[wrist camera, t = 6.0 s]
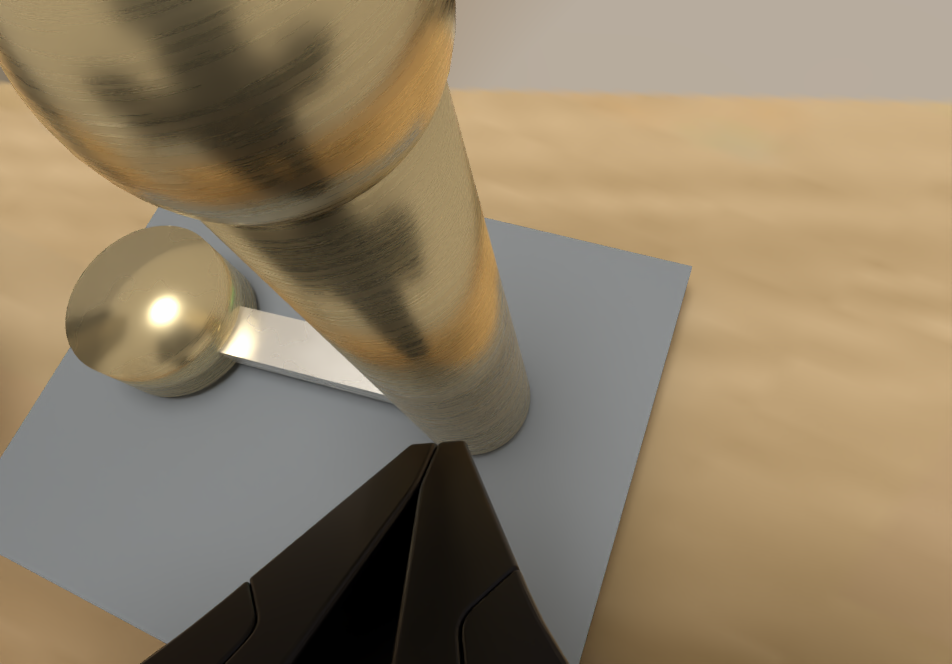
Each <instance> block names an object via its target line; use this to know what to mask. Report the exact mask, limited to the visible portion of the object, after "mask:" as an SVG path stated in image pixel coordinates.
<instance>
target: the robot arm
mask: <svg viewBox="0 0 952 664" xmlns="http://www.w3.org/2000/svg"><path fill="white" fill-rule="evenodd" d="M249 581H250V583H249V582H244V583H243V584H242V585H241V586H239V587H238V588H237V589H236V590H235V591H233V592H232V593H231V594H230V595H229V596H227V597H226V598H225V599H224V600H223V601H221V602H220V603H219V604H218V605H216V606H215V607H214V608H212V609H211V610H210V611H209V612H207V613H206V614H205V615H204V616H202V617H201V618H200V619H199V620H197V621H196V622H195V623H194V624H192V625H191V626H190V627H189V628H187V629H186V630H185V631H183V632H182V633H181V634H179V635H178V636H177V637H175V638H174V639H173V640H171V641H170V642H169V643H167V644H166V645H165V646H163V647H162V648H161V649H159V650H158V651H157V652H155V653H154V654H152V655H151V656H150V657H148V658H147V659H146V660H144V661H143V662H142V663H140V664H569V662H568V661H567V659H566V658H565V656H564V655H563V653H562V651H561V650H560V648H559V646H558V644H557V643H556V641H555V639H554V638H553V636H552V634H551V632H550V631H549V629H548V627H547V626H546V624H545V622H544V620H543V618H542V616H541V614H540V612H539V610H538V608H537V606H536V604H535V602H534V600H533V598H532V595H531V593H530V591H529V589H528V587H527V584H526V582H525V580H524V577H523V575H522V573H521V572H520V568H519V566H518V564H517V561H516V559H515V557H514V554H513V552H512V550H511V547H510V545H509V542H508V540H507V538H506V535H505V533H504V531H503V528H502V526H501V524H500V521H499V519H498V516H497V514H496V512H495V509H494V507H493V505H492V502H491V500H490V497H489V495H488V493H487V490H486V488H485V486H484V483H483V481H482V479H481V476H480V474H479V471H478V469H477V467H476V464H475V462H474V460H473V457H472V455H471V453H470V450H469V448H468V445H467V443H466V442H465V441H448V442H441V443H439V444H438V445H437V444H436V443H421V444H412V445H410V446H408V447H407V448H406V449H405V450H404V451H402V452H401V453H400V454H399V455H398V456H396V457H395V458H394V459H393V460H392V461H390V462H389V463H388V464H387V465H385V466H384V467H383V468H382V469H381V470H379V471H378V472H377V473H376V474H375V475H373V476H372V477H371V478H370V479H369V480H367V481H366V482H365V483H364V484H363V485H361V486H360V487H359V488H358V489H357V490H355V491H354V492H353V493H352V494H351V495H349V496H348V497H347V498H346V499H345V500H343V501H342V502H341V503H340V504H338V505H337V506H336V507H335V508H334V509H332V510H331V511H330V512H329V513H328V514H326V515H325V516H324V517H323V518H322V519H320V520H319V521H318V522H317V523H316V524H314V525H313V526H312V527H311V528H310V529H308V530H307V531H306V532H305V533H304V534H302V535H301V536H300V537H299V538H298V539H296V540H295V541H294V542H293V543H291V544H290V545H289V546H288V547H287V548H285V549H284V550H283V551H282V552H281V553H279V554H278V555H277V556H276V557H275V558H273V559H272V560H271V561H270V562H269V563H267V564H266V565H265V566H264V567H263V568H261V569H260V570H259V571H258V572H256V573H255V574H254V575H253V576H252V577H251V578H250V580H249Z"/></svg>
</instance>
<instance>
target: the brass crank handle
mask: <svg viewBox="0 0 952 664" xmlns="http://www.w3.org/2000/svg"><path fill="white" fill-rule="evenodd" d="M455 14H456V3H455V0H0V66H1V68H2V69H3V71H4V72H5V74H6V76H7V77H8V79H9V81H10V82H11V84H12V86H13V87H14V89H15V90H16V92H17V94H18V95H19V96H20V97H21V99H22V100H23V101H24V102H25V104H26V105H27V106H28V107H29V109H30V110H31V111H32V112H33V114H34V115H35V116H36V117H37V119H38V120H39V121H40V122H41V123H42V124H43V125H44V126H45V127H46V128H47V129H48V130H49V131H50V132H51V133H52V134H53V135H54V136H55V137H56V138H57V139H58V140H59V141H60V142H61V143H62V144H63V145H64V146H65V147H66V148H67V149H68V150H69V151H70V152H71V153H72V154H73V155H74V156H75V157H77V158H78V159H79V160H81V161H82V162H83V163H85V164H86V165H87V166H89V167H90V168H92V169H93V170H94V171H96V172H97V173H98V174H100V175H101V176H103V177H104V178H106V179H107V180H109V181H110V182H111V183H113V184H114V185H116V186H117V187H119V188H121V189H123V190H125V191H127V192H129V193H130V194H132V195H134V196H136V197H138V198H140V199H142V200H144V201H146V202H149V203H151V204H153V205H155V206H158V207H160V208H163V209H165V210H168V211H171V212H174V213H177V214H179V215H183V216H186V217H190V218H194V219H197V220H200V221H201V222H202V223H203V224H204V225H205V226H206V227H207V228H209V229H210V230H211V231H212V232H213V233H214V234H215V235H216V236H217V237H218V238H219V239H220V240H221V241H222V242H223V243H224V244H225V245H226V246H228V247H229V248H230V249H231V250H232V251H233V252H234V253H235V254H236V255H237V256H238V257H239V258H240V259H241V260H242V261H243V262H244V263H245V264H247V265H248V266H249V267H250V268H251V269H252V270H253V271H254V272H255V273H256V274H257V275H258V276H259V277H260V278H261V279H262V280H263V281H264V282H266V283H267V284H268V285H269V286H270V287H271V288H272V289H273V290H274V291H275V292H276V293H277V294H278V295H279V296H280V297H281V298H282V299H283V300H285V301H286V302H287V303H288V304H289V305H290V306H291V307H292V308H293V309H294V310H295V311H296V312H297V313H298V314H299V315H300V316H301V317H302V318H304V319H305V320H306V321H302V320H298V319H294V318H290V317H285V316H281V315H277V314H273V313H268V312H264V311H260V310H257V306H256V299H255V295H254V292H253V289H252V287H251V285H250V283H249V282H248V280H247V279H246V278H245V276H243V275H242V274H241V273H240V272H239V271H238V270H237V269H236V268H235V267H234V266H233V265H232V264H231V263H229V262H228V261H227V260H226V259H225V258H224V257H223V256H222V255H221V254H219V253H218V252H217V251H216V250H215V249H214V248H213V247H212V246H211V245H210V244H208V243H207V242H206V241H205V240H204V239H203V238H202V237H201V236H199V235H198V234H196V233H195V232H193V231H190V230H188V229H185V228H182V227H177V226H154V227H149V228H145V229H141V230H138V231H136V232H133V233H131V234H129V235H126V236H124V237H122V238H121V239H119V240H117V241H116V242H114V243H113V244H111V245H110V246H109V247H107V248H106V249H105V250H104V251H102V252H101V253H100V254H99V255H98V256H97V257H96V258H95V259H94V260H93V261H92V262H91V263H90V264H89V266H88V267H87V268H86V270H85V271H84V272H83V274H82V275H81V277H80V278H79V280H78V281H77V283H76V285H75V287H74V289H73V292H72V294H71V297H70V299H69V303H68V307H67V312H66V334H67V338H68V342H69V345H70V347H71V349H72V351H73V352H74V354H75V355H76V356H77V358H78V359H79V360H80V361H81V362H82V363H84V364H85V365H86V366H88V367H90V368H91V369H93V370H95V371H98V372H100V373H102V374H105V375H107V376H109V377H111V378H114V379H116V380H118V381H121V382H123V383H125V384H127V385H130V386H132V387H134V388H137V389H139V390H141V391H143V392H146V393H149V394H151V395H155V396H160V397H179V396H184V395H188V394H191V393H194V392H197V391H199V390H202V389H204V388H206V387H208V386H209V385H211V384H212V383H214V382H216V381H217V380H218V379H220V378H221V377H222V376H223V375H225V374H226V373H227V372H228V371H229V370H230V369H231V368H232V367H233V366H234V365H235V363H236V362H237V363H241V364H245V365H248V366H252V367H256V368H260V369H264V370H267V371H271V372H275V373H279V374H283V375H286V376H290V377H294V378H298V379H301V380H305V381H309V382H313V383H317V384H320V385H324V386H328V387H332V388H336V389H339V390H343V391H347V392H351V393H355V394H358V395H362V396H366V397H370V398H374V399H377V400H381V401H385V402H389V403H393V404H394V405H395V406H396V407H397V408H398V409H400V410H401V411H402V412H403V413H404V414H405V415H406V416H407V417H408V418H409V419H410V420H411V421H412V422H413V423H414V424H415V425H416V426H417V427H419V428H420V429H421V430H422V431H423V432H424V433H425V434H426V435H427V436H428V437H429V438H430V439H431V440H432V441H433V442H434V443H436V444H437V445H438V444H439V443H441V442H448V441H465V442H466V443H467V445H468V448H469V450H470V453H471V455H477V454H483V453H487V452H490V451H493V450H495V449H497V448H499V447H501V446H502V445H504V444H505V443H507V442H508V441H509V440H510V439H511V438H512V437H513V436H514V435H515V434H516V433H517V432H518V431H519V429H520V428H521V426H522V425H523V423H524V421H525V419H526V416H527V413H528V410H529V405H530V386H529V381H528V377H527V374H526V370H525V366H524V363H523V359H522V355H521V352H520V348H519V344H518V341H517V337H516V333H515V330H514V326H513V322H512V319H511V315H510V311H509V308H508V304H507V300H506V296H505V293H504V289H503V285H502V282H501V278H500V274H499V271H498V267H497V263H496V260H495V256H494V252H493V249H492V245H491V241H490V238H489V234H488V230H487V227H486V223H485V219H484V215H483V212H482V208H481V204H480V201H479V197H478V193H477V190H476V186H475V182H474V179H473V175H472V171H471V168H470V164H469V160H468V157H467V153H466V149H465V146H464V142H463V138H462V134H461V131H460V127H459V123H458V120H457V116H456V112H455V109H454V105H453V101H452V98H451V94H450V90H449V87H448V83H447V77H448V74H449V70H450V64H451V58H452V52H453V45H454V38H455V32H456V31H455V30H456V15H455Z"/></svg>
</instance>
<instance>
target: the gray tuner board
mask: <svg viewBox="0 0 952 664" xmlns="http://www.w3.org/2000/svg"><path fill="white" fill-rule="evenodd" d="M484 219H485V223H486V227H487V230H488V234H489V238H490V241H491V245H492V249H493V252H494V256H495V260H496V263H497V267H498V271H499V274H500V278H501V282H502V285H503V289H504V293H505V296H506V300H507V304H508V308H509V311H510V315H511V319H512V322H513V326H514V330H515V333H516V337H517V341H518V344H519V348H520V352H521V355H522V359H523V363H524V366H525V370H526V374H527V377H528V381H529V386H530V405H529V410H528V413H527V416H526V419H525V421H524V423H523V425H522V426H521V428H520V429H519V431H518V432H517V433H516V434H515V435H514V436H513V437H512V438H511V439H510V440H509V441H508V442H507V443H505V444H504V445H502V446H501V447H499V448H497V449H495V450H493V451H490V452H487V453H483V454H477V455H472V457H473V460H474V462H475V464H476V467H477V469H478V471H479V474H480V476H481V479H482V481H483V483H484V486H485V488H486V490H487V493H488V495H489V497H490V500H491V502H492V505H493V507H494V509H495V512H496V514H497V516H498V519H499V521H500V524H501V526H502V528H503V531H504V533H505V535H506V538H507V540H508V542H509V545H510V547H511V550H512V552H513V554H514V557H515V559H516V561H517V564H518V566H519V568H520V572H521V573H522V575H523V577H524V580H525V582H526V584H527V587H528V589H529V591H530V593H531V595H532V598H533V600H534V602H535V604H536V606H537V608H538V610H539V612H540V614H541V616H542V618H543V620H544V622H545V624H546V626H547V627H548V629H549V631H550V632H551V634H552V636H553V638H554V639H555V641H556V643H557V644H558V646H559V648H560V650H561V651H562V653H563V655H564V656H565V658H566V659H567V661H568V662H569V664H579V662H580V659H581V655H582V652H583V648H584V645H585V641H586V638H587V634H588V631H589V627H590V624H591V620H592V617H593V613H594V610H595V606H596V602H597V599H598V595H599V592H600V588H601V585H602V581H603V578H604V574H605V571H606V567H607V564H608V560H609V557H610V553H611V550H612V546H613V543H614V539H615V536H616V532H617V529H618V525H619V522H620V518H621V515H622V511H623V508H624V504H625V501H626V497H627V494H628V490H629V487H630V483H631V480H632V476H633V473H634V469H635V466H636V462H637V459H638V455H639V452H640V448H641V445H642V441H643V437H644V434H645V430H646V427H647V423H648V420H649V416H650V413H651V409H652V406H653V402H654V399H655V395H656V392H657V388H658V385H659V381H660V378H661V374H662V371H663V367H664V364H665V360H666V357H667V353H668V350H669V346H670V343H671V339H672V336H673V332H674V329H675V325H676V322H677V318H678V315H679V311H680V308H681V304H682V301H683V297H684V294H685V290H686V287H687V283H688V280H689V276H690V272H691V269H692V266H688V265H684V264H679V263H675V262H671V261H667V260H662V259H658V258H654V257H650V256H645V255H641V254H637V253H633V252H628V251H624V250H620V249H616V248H611V247H607V246H603V245H599V244H594V243H590V242H586V241H582V240H577V239H573V238H569V237H565V236H560V235H556V234H552V233H548V232H543V231H539V230H535V229H531V228H526V227H522V226H518V225H514V224H509V223H505V222H501V221H497V220H492V219H488V218H484ZM154 226H177V227H182V228H185V229H188V230H190V231H193V232H195V233H196V234H198V235H199V236H201V237H202V238H203V239H204V240H205V241H206V242H207V243H208V244H210V245H211V246H212V247H213V248H214V249H215V250H216V251H217V252H218V253H219V254H221V255H222V256H223V257H224V258H225V259H226V260H227V261H228V262H229V263H231V264H232V265H233V266H234V267H235V268H236V269H237V270H238V271H239V272H240V273H241V274H242V275H243V276H245V278H246V279H247V280H248V282H249V283H250V285H251V287H252V289H253V292H254V295H255V299H256V306H257V310H260V311H264V312H268V313H273V314H277V315H281V316H285V317H290V318H294V319H298V320H302V321H306V320H305V319H304V318H302V317H301V316H300V315H299V314H298V313H297V312H296V311H295V310H294V309H293V308H292V307H291V306H290V305H289V304H288V303H287V302H286V301H285V300H283V299H282V298H281V297H280V296H279V295H278V294H277V293H276V292H275V291H274V290H273V289H272V288H271V287H270V286H269V285H268V284H267V283H266V282H264V281H263V280H262V279H261V278H260V277H259V276H258V275H257V274H256V273H255V272H254V271H253V270H252V269H251V268H250V267H249V266H248V265H247V264H245V263H244V262H243V261H242V260H241V259H240V258H239V257H238V256H237V255H236V254H235V253H234V252H233V251H232V250H231V249H230V248H229V247H228V246H226V245H225V244H224V243H223V242H222V241H221V240H220V239H219V238H218V237H217V236H216V235H215V234H214V233H213V232H212V231H211V230H210V229H209V228H207V227H206V226H205V225H204V224H203V223H202V222H201V221H200V220H197V219H194V218H190V217H186V216H183V215H179V214H177V213H174V212H171V211H168V210H165V209H163V208H160V207H158V209H157V211H156V212H155V214H154V215H153V217H152V218H151V220H150V222H149V223H148V225H147V226H146V228H149V227H154ZM421 443H434V442H433V441H432V440H431V439H430V438H429V437H428V436H427V435H426V434H425V433H424V432H423V431H422V430H421V429H420V428H419V427H417V426H416V425H415V424H414V423H413V422H412V421H411V420H410V419H409V418H408V417H407V416H406V415H405V414H404V413H403V412H402V411H401V410H400V409H398V408H397V407H396V406H395V405H394V404H393V403H389V402H385V401H381V400H377V399H374V398H370V397H366V396H362V395H358V394H355V393H351V392H347V391H343V390H339V389H336V388H332V387H328V386H324V385H320V384H317V383H313V382H309V381H305V380H301V379H298V378H294V377H290V376H286V375H283V374H279V373H275V372H271V371H267V370H264V369H260V368H256V367H252V366H248V365H245V364H241V363H237V362H236V363H235V365H234V366H233V367H232V368H231V369H230V370H229V371H228V372H227V373H226V374H225V375H223V376H222V377H221V378H220V379H218V380H217V381H216V382H214V383H212V384H211V385H209V386H208V387H206V388H204V389H202V390H199V391H197V392H194V393H191V394H188V395H184V396H179V397H160V396H155V395H151V394H149V393H146V392H143V391H141V390H139V389H137V388H134V387H132V386H130V385H127V384H125V383H123V382H121V381H118V380H116V379H114V378H111V377H109V376H107V375H105V374H102V373H100V372H98V371H95V370H93V369H91V368H90V367H88V366H86V365H85V364H84V363H82V362H81V361H80V360H79V359H78V358H77V356H76V355H75V354H74V352H73V351H72V349H71V347H70V349H69V350H68V352H67V353H66V355H65V356H64V358H63V360H62V361H61V363H60V364H59V366H58V368H57V369H56V371H55V372H54V374H53V376H52V377H51V379H50V380H49V382H48V383H47V385H46V387H45V388H44V390H43V391H42V393H41V395H40V396H39V398H38V399H37V401H36V402H35V404H34V406H33V407H32V409H31V410H30V412H29V414H28V415H27V417H26V418H25V420H24V422H23V423H22V425H21V426H20V428H19V429H18V431H17V433H16V434H15V436H14V437H13V439H12V441H11V442H10V444H9V445H8V447H7V448H6V450H5V452H4V453H3V455H2V456H1V458H0V555H2V556H4V557H6V558H8V559H10V560H11V561H13V562H15V563H17V564H19V565H21V566H23V567H24V568H26V569H28V570H30V571H32V572H34V573H36V574H38V575H39V576H41V577H43V578H45V579H47V580H49V581H51V582H52V583H54V584H56V585H58V586H60V587H62V588H64V589H66V590H67V591H69V592H71V593H73V594H75V595H77V596H79V597H80V598H82V599H84V600H86V601H88V602H90V603H92V604H94V605H95V606H97V607H99V608H101V609H103V610H105V611H107V612H108V613H110V614H112V615H114V616H116V617H118V618H120V619H121V620H123V621H125V622H127V623H129V624H131V625H133V626H135V627H136V628H138V629H140V630H142V631H144V632H146V633H148V634H149V635H151V636H153V637H155V638H157V639H159V640H161V641H163V642H164V643H166V644H167V643H169V642H170V641H171V640H173V639H174V638H175V637H177V636H178V635H179V634H181V633H182V632H183V631H185V630H186V629H187V628H189V627H190V626H191V625H192V624H194V623H195V622H196V621H197V620H199V619H200V618H201V617H202V616H204V615H205V614H206V613H207V612H209V611H210V610H211V609H212V608H214V607H215V606H216V605H218V604H219V603H220V602H221V601H223V600H224V599H225V598H226V597H227V596H229V595H230V594H231V593H232V592H233V591H235V590H236V589H237V588H238V587H239V586H241V585H242V584H243V583H244V582H249V583H250V581H249V580H250V578H251V577H252V576H253V575H254V574H255V573H256V572H258V571H259V570H260V569H261V568H263V567H264V566H265V565H266V564H267V563H269V562H270V561H271V560H272V559H273V558H275V557H276V556H277V555H278V554H279V553H281V552H282V551H283V550H284V549H285V548H287V547H288V546H289V545H290V544H291V543H293V542H294V541H295V540H296V539H298V538H299V537H300V536H301V535H302V534H304V533H305V532H306V531H307V530H308V529H310V528H311V527H312V526H313V525H314V524H316V523H317V522H318V521H319V520H320V519H322V518H323V517H324V516H325V515H326V514H328V513H329V512H330V511H331V510H332V509H334V508H335V507H336V506H337V505H338V504H340V503H341V502H342V501H343V500H345V499H346V498H347V497H348V496H349V495H351V494H352V493H353V492H354V491H355V490H357V489H358V488H359V487H360V486H361V485H363V484H364V483H365V482H366V481H367V480H369V479H370V478H371V477H372V476H373V475H375V474H376V473H377V472H378V471H379V470H381V469H382V468H383V467H384V466H385V465H387V464H388V463H389V462H390V461H392V460H393V459H394V458H395V457H396V456H398V455H399V454H400V453H401V452H402V451H404V450H405V449H406V448H407V447H408V446H410V445H412V444H421Z"/></svg>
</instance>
